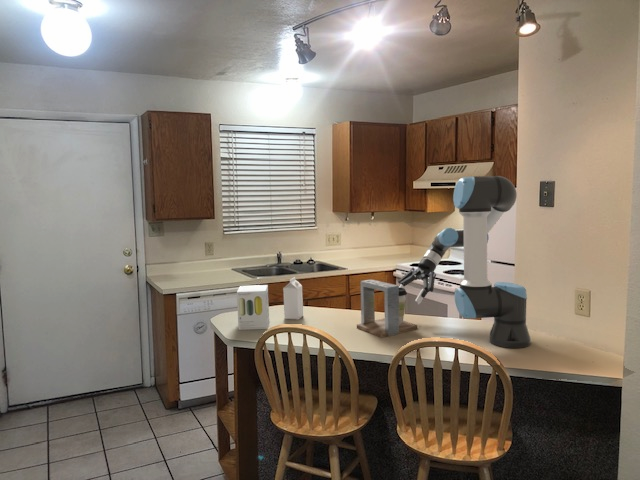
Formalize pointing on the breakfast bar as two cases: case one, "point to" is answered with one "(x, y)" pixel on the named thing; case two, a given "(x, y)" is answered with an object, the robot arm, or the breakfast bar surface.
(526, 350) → the breakfast bar surface
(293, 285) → the milk carton
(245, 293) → the supplement box
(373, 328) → the walnut board
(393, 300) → the grey keeper bridge
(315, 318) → the breakfast bar surface
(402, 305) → the coffee cup
